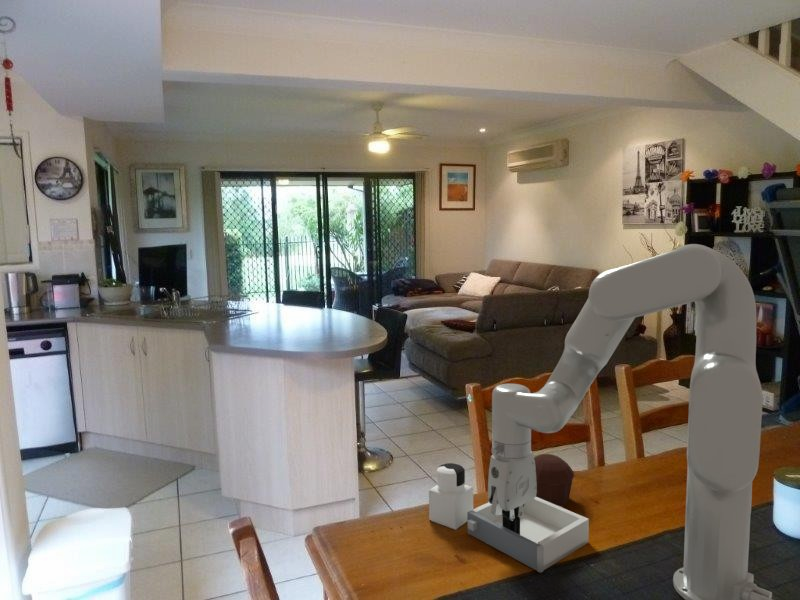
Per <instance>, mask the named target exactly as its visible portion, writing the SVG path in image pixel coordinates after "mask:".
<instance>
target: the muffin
mask: <svg viewBox="0 0 800 600" xmlns="http://www.w3.org/2000/svg"><path fill="white" fill-rule="evenodd" d="M534 460H535V467H536V481H537V494H536V497H538V498H540V499H543V500H545V501H548V502H550V503H552V504H555V505H557V506H559V507H564V506H565V504H568V503H569V500H570V495H571V489H572V485H573V479H574V477H575V472H574V470H573V469H572V467H571V466H570V465H569V464H568V463H567V462H566V461H565V460H564V459H562V457H560V456H557V455H555V454H550V453H542V454H538V455H535V456H534Z"/></svg>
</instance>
